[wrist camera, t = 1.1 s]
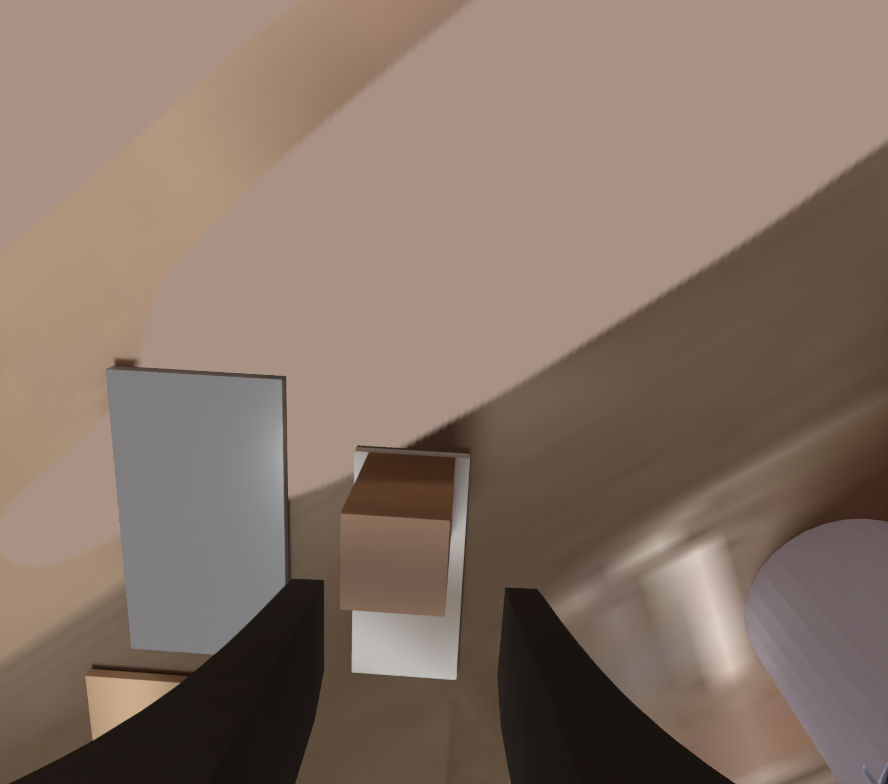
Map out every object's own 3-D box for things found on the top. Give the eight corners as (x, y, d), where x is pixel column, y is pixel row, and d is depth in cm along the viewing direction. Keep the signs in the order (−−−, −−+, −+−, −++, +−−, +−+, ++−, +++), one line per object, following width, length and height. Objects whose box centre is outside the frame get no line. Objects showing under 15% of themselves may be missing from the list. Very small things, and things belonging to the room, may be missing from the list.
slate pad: (285, 376, 22) (281, 379, 22) (290, 651, 25) (286, 659, 24) (113, 365, 22) (105, 368, 22) (137, 640, 25) (131, 648, 25)
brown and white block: (357, 445, 23) (322, 512, 18) (470, 452, 23) (468, 521, 17) (354, 661, 25) (322, 777, 20) (456, 668, 25) (451, 787, 20)
